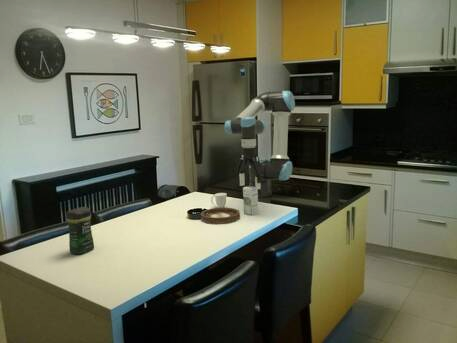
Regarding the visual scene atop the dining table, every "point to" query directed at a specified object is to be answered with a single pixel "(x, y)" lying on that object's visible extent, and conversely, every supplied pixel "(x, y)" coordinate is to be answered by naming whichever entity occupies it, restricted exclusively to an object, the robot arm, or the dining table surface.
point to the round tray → (220, 215)
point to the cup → (220, 200)
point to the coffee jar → (80, 230)
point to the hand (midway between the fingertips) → (249, 187)
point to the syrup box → (250, 200)
